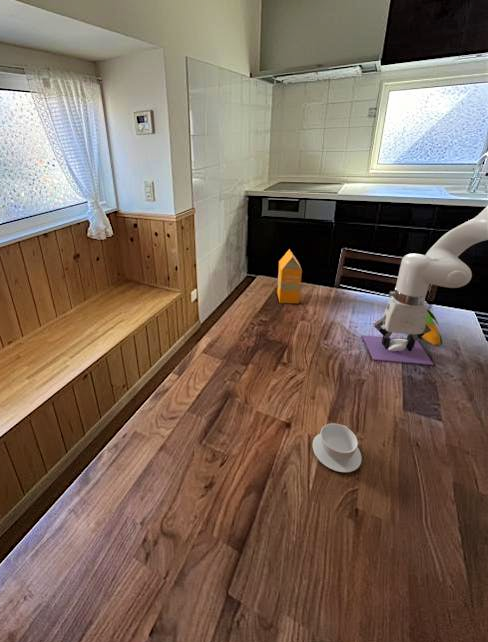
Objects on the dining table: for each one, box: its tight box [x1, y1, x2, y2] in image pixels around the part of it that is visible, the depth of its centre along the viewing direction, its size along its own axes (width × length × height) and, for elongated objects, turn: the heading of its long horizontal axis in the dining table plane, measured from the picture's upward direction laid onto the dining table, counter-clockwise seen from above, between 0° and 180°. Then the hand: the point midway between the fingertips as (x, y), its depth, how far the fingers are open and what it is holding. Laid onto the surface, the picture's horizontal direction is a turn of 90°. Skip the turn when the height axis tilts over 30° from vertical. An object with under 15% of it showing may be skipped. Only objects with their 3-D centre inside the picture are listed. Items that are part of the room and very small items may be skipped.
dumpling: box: [388, 338, 408, 351], centre depth 103 cm, size 7×5×4 cm
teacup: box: [312, 423, 363, 473], centre depth 73 cm, size 10×10×5 cm
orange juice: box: [276, 248, 303, 304], centre depth 134 cm, size 8×9×20 cm
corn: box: [418, 308, 444, 347], centre depth 109 cm, size 7×8×20 cm
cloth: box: [362, 335, 434, 366], centre depth 104 cm, size 16×12×1 cm
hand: (396, 347), depth 104 cm, fingers closed on dumpling, 5 cm apart
